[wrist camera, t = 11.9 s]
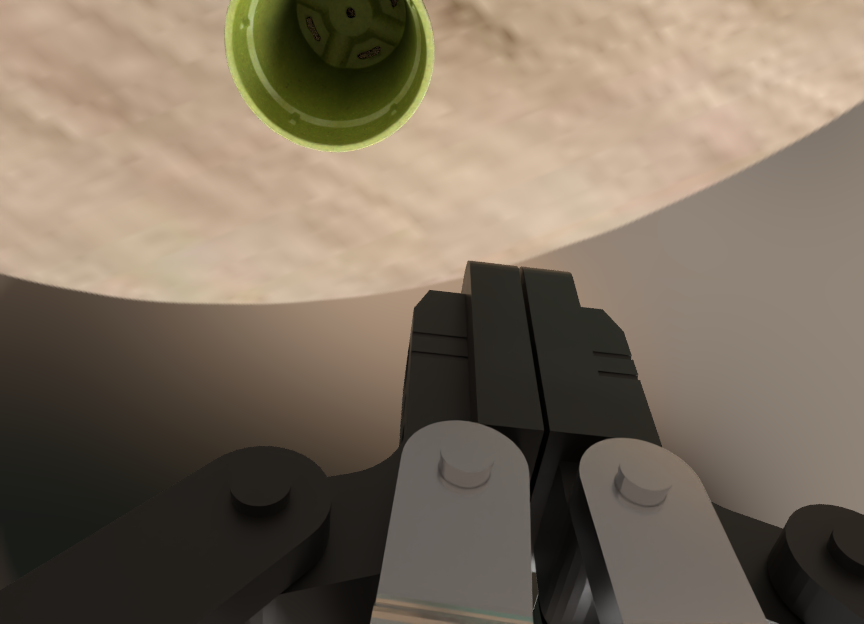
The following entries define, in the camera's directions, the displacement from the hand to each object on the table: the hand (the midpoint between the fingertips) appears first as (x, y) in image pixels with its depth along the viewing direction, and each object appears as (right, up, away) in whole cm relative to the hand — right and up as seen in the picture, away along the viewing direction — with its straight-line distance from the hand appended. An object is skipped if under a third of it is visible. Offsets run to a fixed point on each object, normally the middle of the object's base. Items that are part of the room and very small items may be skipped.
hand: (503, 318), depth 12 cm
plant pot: (-5, +16, +30) cm, 35 cm away
